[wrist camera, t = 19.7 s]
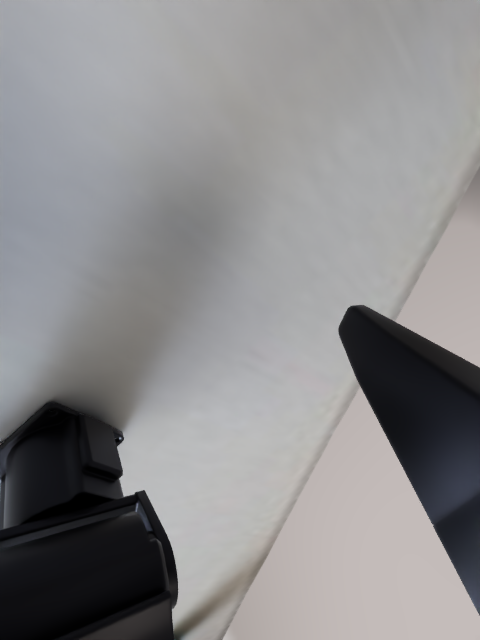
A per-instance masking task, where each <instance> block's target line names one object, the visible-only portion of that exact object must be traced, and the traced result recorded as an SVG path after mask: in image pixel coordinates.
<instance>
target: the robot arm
mask: <svg viewBox="0 0 480 640" xmlns="http://www.w3.org/2000/svg"><path fill="white" fill-rule="evenodd" d="M339 336H340V338H341V341H342V343H343V346H344V348H345V351H346V353H347V356H348V358H349V361H350V363H351V366H352V368H353V371H354V373H355V376H356V378H357V380H358V382H359V384H360V386H361V388H362V390H363V392H364V394H365V396H366V398H367V400H368V402H369V404H370V405H371V407H372V409H373V411H374V413H375V415H376V417H377V419H378V421H379V423H380V425H381V427H382V428H383V431H384V432H385V434H386V436H387V438H388V440H389V442H390V444H391V446H392V448H393V450H394V452H395V454H396V455H397V457H398V459H399V461H400V463H401V465H402V467H403V469H404V471H405V473H406V475H407V477H408V478H409V480H410V482H411V484H412V486H413V488H414V490H415V492H416V494H417V496H418V498H419V499H420V501H421V503H422V505H423V507H424V509H425V511H426V513H427V515H428V517H429V519H430V520H431V523H432V524H433V525H434V526H433V527H434V529H435V531H436V533H437V535H438V537H439V538H440V540H441V542H442V544H443V546H444V548H445V550H446V552H447V554H448V556H449V558H450V559H451V562H452V563H453V565H454V567H455V569H456V571H457V573H458V575H459V577H460V579H461V581H462V583H463V584H464V586H465V588H466V590H467V592H468V594H469V596H470V598H471V600H472V602H473V604H474V606H475V608H476V609H477V611H478V613H479V615H480V368H479V367H478V366H476V365H474V364H472V363H470V362H468V361H466V360H465V359H463V358H461V357H459V356H457V355H455V354H453V353H452V352H450V351H448V350H446V349H444V348H442V347H441V346H439V345H437V344H435V343H433V342H431V341H429V340H428V339H426V338H424V337H422V336H420V335H418V334H416V333H414V332H413V331H411V330H409V329H407V328H405V327H403V326H402V325H400V324H398V323H396V322H394V321H392V320H391V319H389V318H387V317H385V316H383V315H381V314H379V313H378V312H376V311H374V310H372V309H370V308H368V307H366V306H364V305H356V306H350V307H349V308H348V309H347V311H346V313H345V315H344V317H343V319H342V321H341V323H340V325H339ZM50 410H54V411H52V412H49V411H50ZM123 440H124V437H123V434H122V432H121V431H118V430H116V429H114V428H112V427H111V426H110V425H108V424H105V423H103V422H101V421H99V420H97V419H94V418H92V417H90V416H88V415H85V414H80V413H78V412H76V411H74V410H71V409H69V408H67V407H65V406H62V405H60V404H58V403H48V404H46V405H45V406H44V407H43V408H41V409H40V410H39V411H38V412H37V413H36V414H35V415H34V416H33V417H31V418H30V419H29V420H28V421H27V422H26V423H25V424H24V425H23V426H22V427H20V428H19V429H18V430H17V431H16V432H15V433H14V434H13V435H12V436H11V437H9V438H8V439H7V440H6V441H5V442H4V443H3V444H2V445H1V446H0V482H1V483H0V640H174V633H173V623H172V609H173V608H174V607H175V605H176V603H177V598H178V579H177V570H176V564H175V559H174V555H173V551H172V547H171V544H170V541H169V539H168V537H167V534H166V532H165V530H164V528H163V526H162V524H161V522H160V520H159V518H158V516H157V514H156V512H155V510H154V508H153V506H152V504H151V502H150V500H149V498H148V496H147V494H146V492H145V491H144V490H143V491H139V492H135V494H134V495H130V496H126V497H123V492H122V488H121V484H120V480H119V478H120V477H121V476H122V475H123V470H122V466H121V462H120V458H119V454H118V450H117V446H118V445H119V444H120V443H122V441H123Z"/></svg>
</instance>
